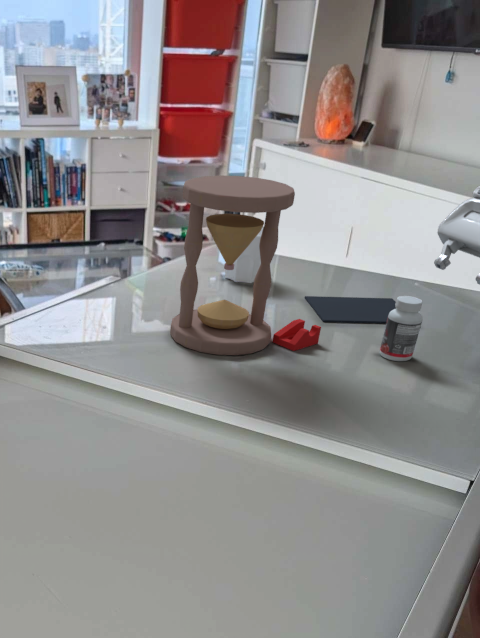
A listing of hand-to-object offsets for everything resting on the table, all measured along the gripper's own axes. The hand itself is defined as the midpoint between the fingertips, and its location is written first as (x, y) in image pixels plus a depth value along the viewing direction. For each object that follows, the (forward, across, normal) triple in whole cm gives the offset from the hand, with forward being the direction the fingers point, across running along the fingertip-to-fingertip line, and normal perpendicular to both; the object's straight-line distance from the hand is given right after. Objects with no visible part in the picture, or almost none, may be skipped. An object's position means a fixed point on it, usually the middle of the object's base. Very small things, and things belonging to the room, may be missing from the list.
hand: (458, 274), depth 125 cm
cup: (+17, +46, -2) cm, 50 cm away
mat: (+9, +21, -9) cm, 25 cm away
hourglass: (+33, +16, +14) cm, 40 cm away
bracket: (+25, +10, +6) cm, 28 cm away
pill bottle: (+16, 0, -3) cm, 16 cm away
